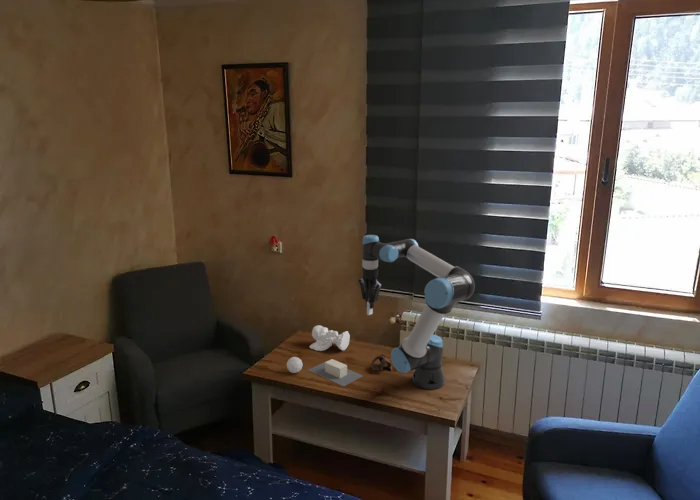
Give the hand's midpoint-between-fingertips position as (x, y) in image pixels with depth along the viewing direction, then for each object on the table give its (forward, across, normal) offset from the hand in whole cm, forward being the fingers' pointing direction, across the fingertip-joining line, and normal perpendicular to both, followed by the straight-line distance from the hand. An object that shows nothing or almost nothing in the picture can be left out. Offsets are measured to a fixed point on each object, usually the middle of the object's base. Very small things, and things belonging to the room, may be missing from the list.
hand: (369, 314), depth 263 cm
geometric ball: (+29, +24, +28) cm, 47 cm away
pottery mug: (+29, -6, -3) cm, 29 cm away
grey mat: (+28, +8, +16) cm, 34 cm away
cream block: (+26, +2, +16) cm, 30 cm away
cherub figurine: (+29, +31, -3) cm, 42 cm away
